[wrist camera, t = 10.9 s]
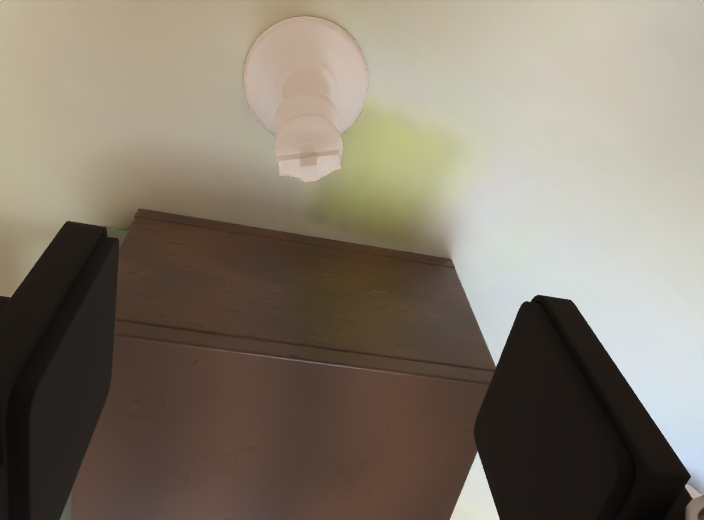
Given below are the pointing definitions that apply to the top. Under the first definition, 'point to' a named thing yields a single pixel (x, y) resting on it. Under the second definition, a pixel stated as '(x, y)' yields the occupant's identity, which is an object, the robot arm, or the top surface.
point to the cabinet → (282, 380)
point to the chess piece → (306, 92)
